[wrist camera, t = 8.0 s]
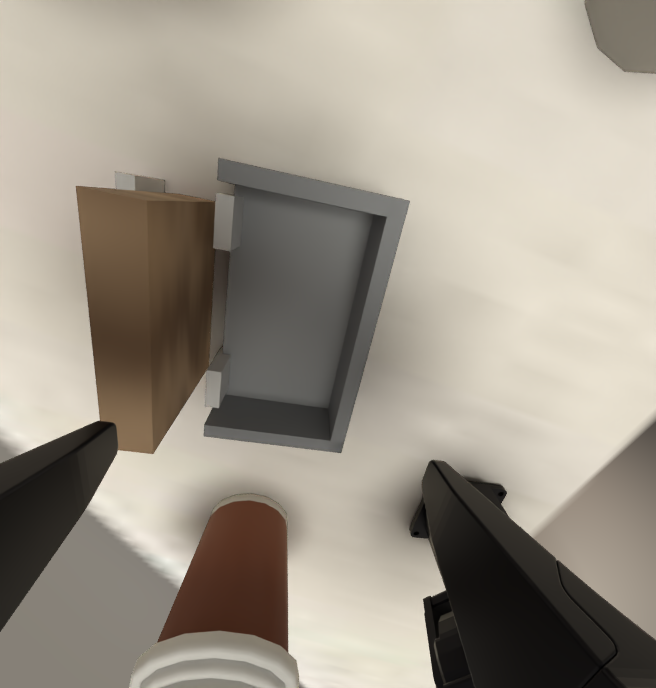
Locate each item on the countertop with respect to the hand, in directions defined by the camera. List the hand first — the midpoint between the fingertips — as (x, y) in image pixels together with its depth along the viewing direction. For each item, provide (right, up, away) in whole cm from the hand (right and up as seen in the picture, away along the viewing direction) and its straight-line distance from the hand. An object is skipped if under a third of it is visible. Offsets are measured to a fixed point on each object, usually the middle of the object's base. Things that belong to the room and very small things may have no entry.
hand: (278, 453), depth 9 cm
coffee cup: (-5, -12, +18) cm, 22 cm away
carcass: (-3, +6, +10) cm, 12 cm away
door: (-6, +6, +10) cm, 13 cm away
